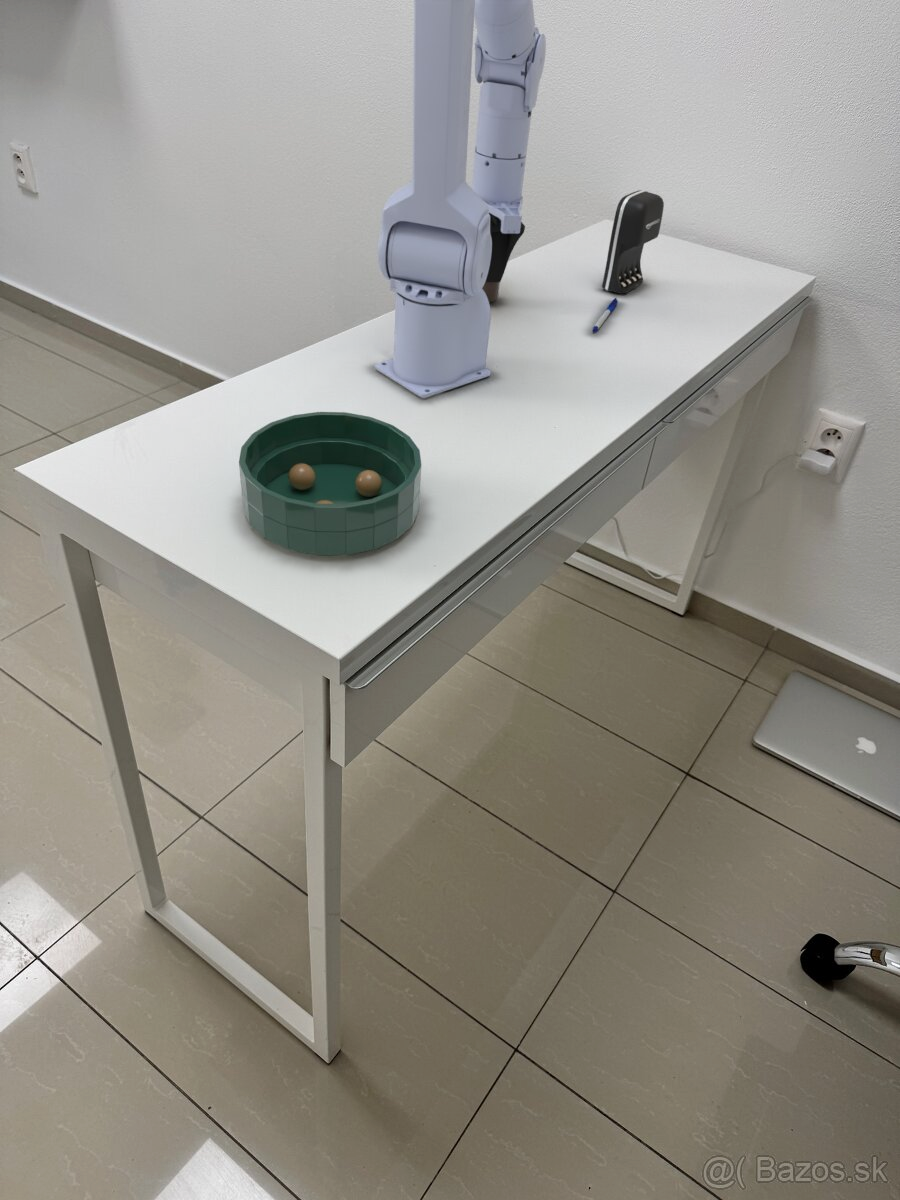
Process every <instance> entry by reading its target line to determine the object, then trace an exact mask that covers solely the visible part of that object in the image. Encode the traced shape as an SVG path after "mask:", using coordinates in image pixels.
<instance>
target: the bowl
mask: <svg viewBox="0 0 900 1200" xmlns="http://www.w3.org/2000/svg"><path fill="white" fill-rule="evenodd" d="M300 463H303V464H307V465H309V466H310V467H311V468H312V469H313V470H314V472H315V482H314V484H313V486H312V487H311V488H309V489H307V490H297V489H295V488H294V487H293V486H292V485H291V484H290V482H289V479H288V474H289V471H290V469H291V468H292V467H293V466H294V465H296V464H300ZM238 468H239V469H238V470H239V478H240V489H241V498H242V499H241V500H242V509H243V512H244V514H245V516H246V519H247V522H248V524H249V526H250V527H251V528H253V529H254V530H255V531H256V532H257V534H259V535H261V537H263V539H265V540H267V541H269V542H271V543H273V544H275V545H277V546H280V547H281V548H284V549H286V550H290V551H295V552H298V553H303V554H307V555H312V556H313V555H314V556H323V557H341V556H343V557H344V556H351V555H356V554H362V553H366V552H368V551H373V550H376V549H378V548H380V547H382V546H385V545H387V544H390V543H392V542H394V541H396V540H397V539H399V538H400V537H401V536H402V535H404V534H405V533H406V532H407V531H408V530H409V529H410V528H411V527H412V526H413V524H414V521H415V520H416V518H417V515H418V513H419V509H420V495H421V479H422V477H421V476H422V459H421V451H420V449H419V447H418V446H417V444H416V443H415V442H414V440H413V439H412V438H411V436H410V435H408V434H406V432H404V431H402V430H401V429H399V427H396V426H395V425H393V424H391V423H388V422H385V421H382V420H380V419H378V418H374V417H372V416H367V415H362V414H357V413H352V412H345V411H314V412H307V413H301V414H299V413H298V414H294V415H290V416H286V417H284V418H280V419H278V420H274V421H271V422H269V423H267V424H266V425H264V426H262V427H261V428H259V429H257V430H256V431H254V432H253V433H252V434H251V435H250V436H249V437H248V439H247V440H246V441H245V442H244V443H243V445H242V446H241V447H240V453H239V459H238ZM365 470H372V471H375V472H376V473H378V474H379V476H380V477H381V480H382V488H381V490H380V492H379V493H378V494H377V495H375V496H373V497H365V496H363V495H361V494H360V493H359V492H358V491H357V489H356V486H355V481H356V478H357V476H358V475H359V474H360V473H361V472H363V471H365ZM321 500H328V501H331V502H333V503H334V504H315V503H317V502H319V501H321Z"/></svg>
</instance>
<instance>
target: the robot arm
mask: <svg viewBox="0 0 900 1200" xmlns="http://www.w3.org/2000/svg"><path fill="white" fill-rule="evenodd" d="M533 2H534V1H533V0H413V60H412V61H413V62H412V63H413V65H412V66H413V67H412V68H413V69H412V71H413V72H412V74H413V77H412V180H410V181H409V182H407V183H406V184H405V185H403V186H401V187H400V188H399V189H396V191H394V192H393V193H392V194H391V195H390V197H389V198H388V199H387V200H386V201H385V205H384V207H383V209H382V211H381V224H380V233H379V237H378V243H377V264H378V267H379V268H378V269H379V271H380V272H381V274H382V277H383V278H384V279H385V280H388V281H389V290H390V291H391V292H394V293H395V305H394V308H395V309H394V333H393V334H394V335H393V358H390V359H388V360H385V361H381V362H377V363H376V364H375V370H376V371H378V372H380V373H381V374H382V375H385V376H386V377H387V378H389V379H391V380H392V381H394V382H395V383H396V384H399V385H400V386H402V387H403V388H405V389H407V390H408V391H410V392H412V393H413V394H414V395H416V396H417V397H419V398H421V399H426V398H429V397H432V396H435V395H438V394H440V393H444V392H447V391H450V390H452V389H456V388H458V387H462V386H465V385H467V384H470V383H472V382H476V381H479V380H481V379H484V378H488V377H490V376H491V370H490V369H489V368H486V366H487V356H488V347H489V346H488V345H489V339H490V338H489V337H490V329H491V319H492V312H491V305H490V302H489V301H488V298H487V296H486V294H485V292H484V291H483V289H482V288H483V286H484V284H485V282H500V283H501V282H502V279H503V276H504V274H505V271H506V269H507V265H508V262H509V260H510V258H511V254H512V253H513V250H514V248H515V246H516V244H517V243H518V242H519V240H520V239H521V237H522V236H523V235H524V233H525V230H526V225H525V224H524V223H523V221H522V220H523V219H522V218H523V215H522V214H521V210H522V206H523V200H524V196H523V186H524V177H525V170H526V169H525V168H526V162H527V161H526V160H527V152H528V145H529V137H530V128H531V119H532V111H533V109H534V108H535V107H536V105H537V100H538V93H539V87H540V81H541V78H542V76H543V73H544V72H543V71H544V68H545V63H546V62H545V61H546V53H547V52H546V51H547V50H546V49H547V40H546V34H544V33H540V30H539V27H537V26H536V23H535V22H536V21H535V20H536V19H535V13H534V12H535V11H534V3H533ZM474 24H475V25H474ZM474 26H475V29H476V36H475V40H474ZM473 44H474V77H475V80H476V82H477V84H479V85H480V84H481V85H480V89H479V99H478V110H477V111H478V112H477V123H476V125H477V126H476V134H475V135H476V136H475V146H474V157H473V169H472V180H471V181H472V182H471V186H470V185H469V184H468V182H467V161H468V144H469V143H468V142H469V123H470V105H471V104H470V103H471V86H472V83H471V82H472V68H473V67H472V63H473Z"/></svg>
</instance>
